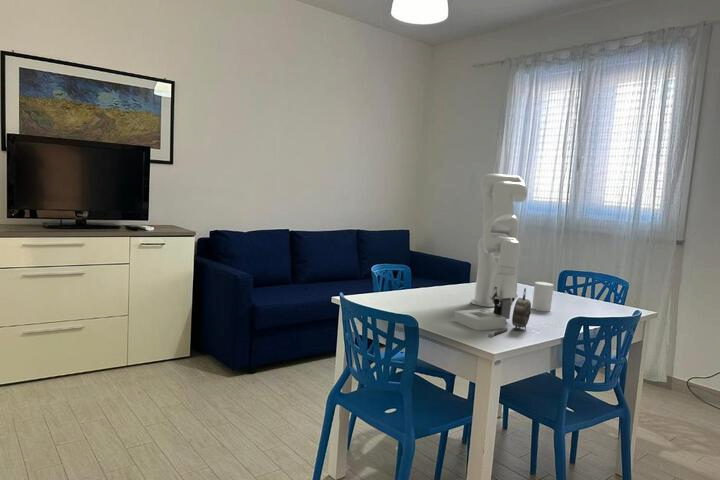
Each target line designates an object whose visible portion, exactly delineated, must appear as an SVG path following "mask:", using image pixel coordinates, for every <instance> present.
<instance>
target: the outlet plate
mask: <svg viewBox="0 0 720 480" xmlns="http://www.w3.org/2000/svg"><path fill="white" fill-rule="evenodd" d="M453 312H454V313H453V322H455V323H458V324H461V325H463V326H465V327H468V328H471V329H473V330H475V331H488V330H499V329H500V330H502V329H505V328H506V327H507V325H506V323H507V319H506V318H505V317H502V316H499V315H496V314H494V312H490V311H487V310H485V309H482V308H479V309H467V310H466V309H462V310H454V311H453Z"/></svg>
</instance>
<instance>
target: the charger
mask: <svg viewBox="0 0 720 480" xmlns="http://www.w3.org/2000/svg"><path fill="white" fill-rule="evenodd" d="M498 301H499V299H498ZM511 302H512V300H511V299H502V302H501V305H500V306H501V314H500V316H502V317H505V318H506V320H509V319H510V317H511V308H512V305H511ZM494 307H495V306H494ZM494 307H493V308H494Z"/></svg>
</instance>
